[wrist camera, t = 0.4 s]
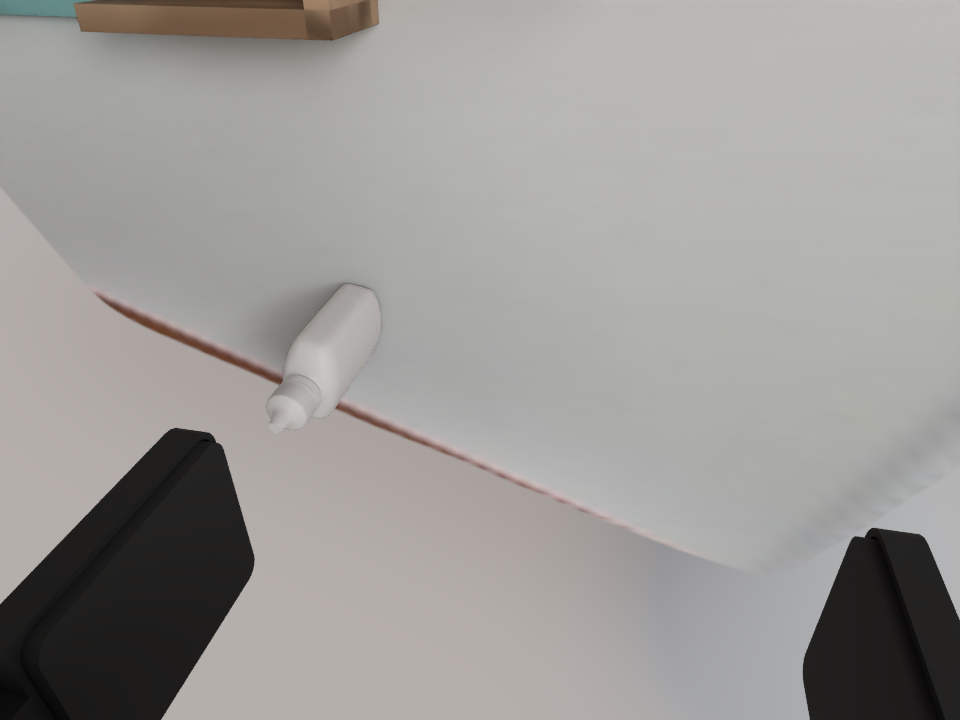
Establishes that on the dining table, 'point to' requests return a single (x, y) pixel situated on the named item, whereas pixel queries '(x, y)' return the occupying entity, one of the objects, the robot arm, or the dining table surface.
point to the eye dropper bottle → (326, 358)
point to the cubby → (210, 16)
